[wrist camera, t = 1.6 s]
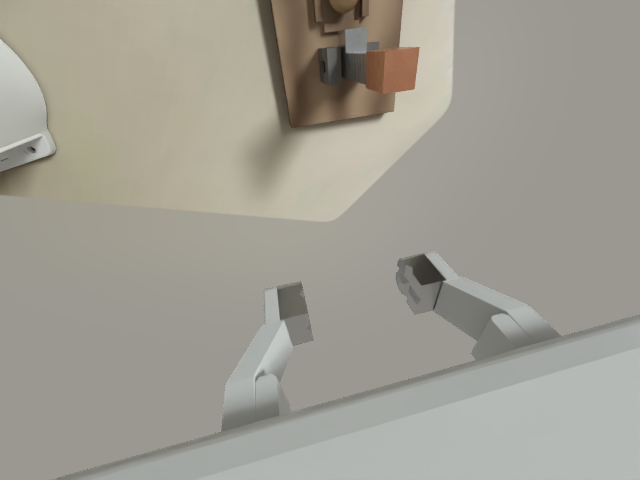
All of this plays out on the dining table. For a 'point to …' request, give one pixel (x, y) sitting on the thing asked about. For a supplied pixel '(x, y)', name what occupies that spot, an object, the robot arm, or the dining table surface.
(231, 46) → the dining table surface
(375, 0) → the bench
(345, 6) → the walnut
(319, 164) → the dining table surface
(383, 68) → the lever
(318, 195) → the dining table surface
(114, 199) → the dining table surface
